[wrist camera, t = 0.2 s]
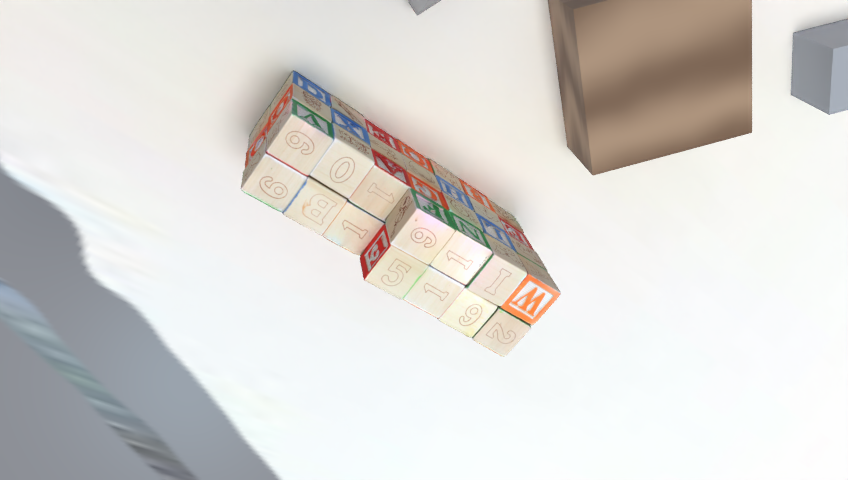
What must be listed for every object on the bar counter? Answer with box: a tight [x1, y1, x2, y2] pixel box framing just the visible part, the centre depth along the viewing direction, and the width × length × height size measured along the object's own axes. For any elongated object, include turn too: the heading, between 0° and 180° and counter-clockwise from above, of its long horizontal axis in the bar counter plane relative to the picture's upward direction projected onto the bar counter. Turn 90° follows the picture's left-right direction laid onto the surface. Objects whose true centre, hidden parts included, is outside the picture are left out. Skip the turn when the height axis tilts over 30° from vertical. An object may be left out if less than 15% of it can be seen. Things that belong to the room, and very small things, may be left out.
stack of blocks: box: [241, 71, 561, 357], centre depth 53 cm, size 21×6×12 cm, turn 53°
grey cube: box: [791, 19, 848, 115], centre depth 57 cm, size 5×5×5 cm
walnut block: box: [548, 0, 752, 175], centre depth 54 cm, size 12×12×6 cm
